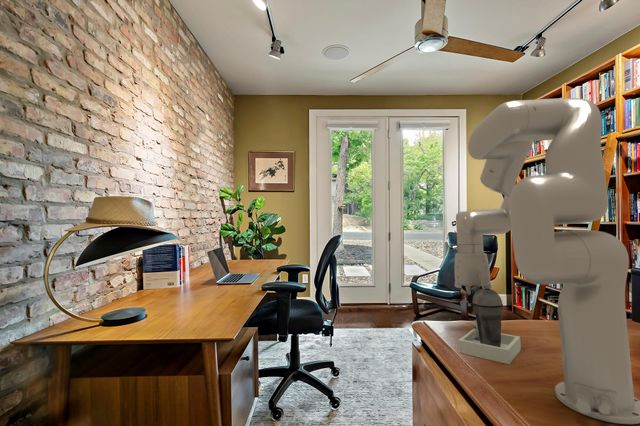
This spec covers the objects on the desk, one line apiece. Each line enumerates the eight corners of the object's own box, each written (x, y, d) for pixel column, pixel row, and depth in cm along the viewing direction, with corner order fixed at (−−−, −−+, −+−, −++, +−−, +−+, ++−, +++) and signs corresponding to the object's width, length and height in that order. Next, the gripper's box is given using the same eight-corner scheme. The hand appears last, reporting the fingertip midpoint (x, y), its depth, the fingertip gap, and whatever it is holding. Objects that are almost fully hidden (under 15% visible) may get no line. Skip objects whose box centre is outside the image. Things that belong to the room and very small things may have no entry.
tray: (509, 364, 74) (508, 350, 74) (459, 352, 82) (458, 339, 82) (521, 349, 82) (520, 336, 82) (474, 339, 90) (473, 328, 90)
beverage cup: (511, 354, 78) (505, 273, 79) (479, 353, 79) (474, 274, 80) (500, 343, 85) (495, 269, 86) (471, 342, 86) (466, 270, 87)
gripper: (445, 250, 100) (448, 307, 99) (498, 250, 94) (501, 311, 94) (445, 248, 107) (448, 301, 106) (495, 247, 101) (498, 304, 101)
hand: (473, 306), depth 100 cm, fingers closed
